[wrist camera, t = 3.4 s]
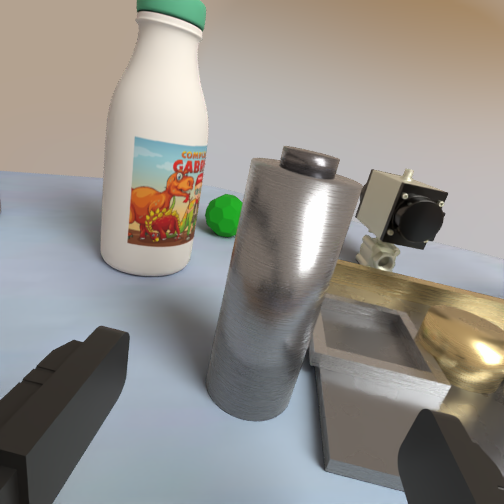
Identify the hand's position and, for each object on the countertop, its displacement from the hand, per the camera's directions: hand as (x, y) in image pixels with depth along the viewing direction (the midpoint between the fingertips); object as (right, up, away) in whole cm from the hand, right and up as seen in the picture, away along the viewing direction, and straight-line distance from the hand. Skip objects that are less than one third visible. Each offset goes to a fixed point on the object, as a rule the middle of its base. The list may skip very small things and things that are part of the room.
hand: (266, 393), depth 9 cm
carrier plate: (+14, -5, +15) cm, 21 cm away
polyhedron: (-4, +6, +31) cm, 32 cm away
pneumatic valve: (+15, +2, +32) cm, 35 cm away
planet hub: (-1, -4, +10) cm, 10 cm away
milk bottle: (-10, +3, +21) cm, 24 cm away
